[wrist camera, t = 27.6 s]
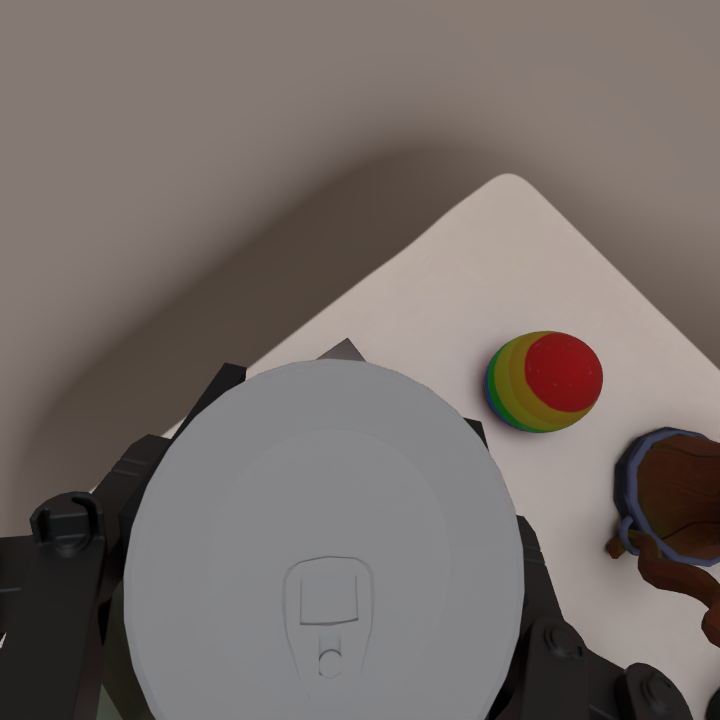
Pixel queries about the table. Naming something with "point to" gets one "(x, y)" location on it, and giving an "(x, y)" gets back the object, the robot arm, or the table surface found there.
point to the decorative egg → (543, 381)
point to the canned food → (324, 556)
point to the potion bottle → (715, 708)
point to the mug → (673, 515)
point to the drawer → (120, 673)
